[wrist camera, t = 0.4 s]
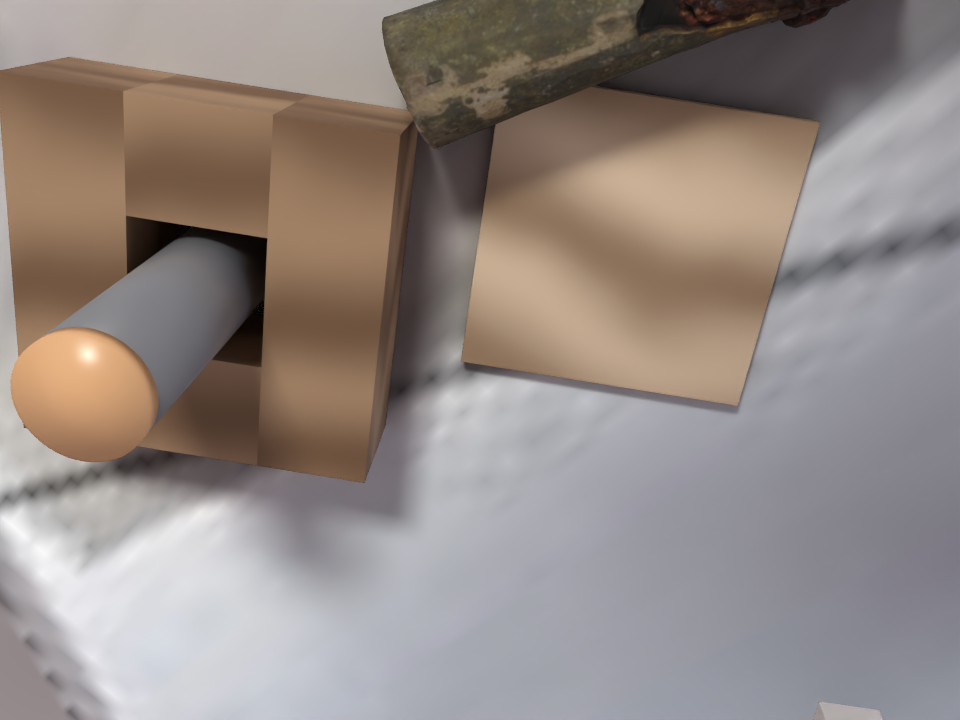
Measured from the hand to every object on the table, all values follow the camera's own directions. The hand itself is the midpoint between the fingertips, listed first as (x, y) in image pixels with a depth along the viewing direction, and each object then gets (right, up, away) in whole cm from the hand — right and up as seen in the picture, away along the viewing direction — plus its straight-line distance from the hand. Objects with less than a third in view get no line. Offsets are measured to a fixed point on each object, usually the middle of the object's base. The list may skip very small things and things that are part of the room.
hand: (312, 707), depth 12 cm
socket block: (-8, +9, +26) cm, 29 cm away
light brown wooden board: (+8, +9, +25) cm, 28 cm away
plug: (-8, +9, +26) cm, 29 cm away
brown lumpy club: (+8, +19, +21) cm, 29 cm away
